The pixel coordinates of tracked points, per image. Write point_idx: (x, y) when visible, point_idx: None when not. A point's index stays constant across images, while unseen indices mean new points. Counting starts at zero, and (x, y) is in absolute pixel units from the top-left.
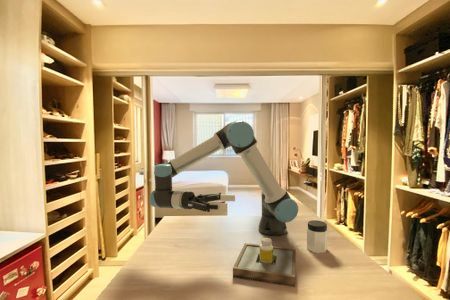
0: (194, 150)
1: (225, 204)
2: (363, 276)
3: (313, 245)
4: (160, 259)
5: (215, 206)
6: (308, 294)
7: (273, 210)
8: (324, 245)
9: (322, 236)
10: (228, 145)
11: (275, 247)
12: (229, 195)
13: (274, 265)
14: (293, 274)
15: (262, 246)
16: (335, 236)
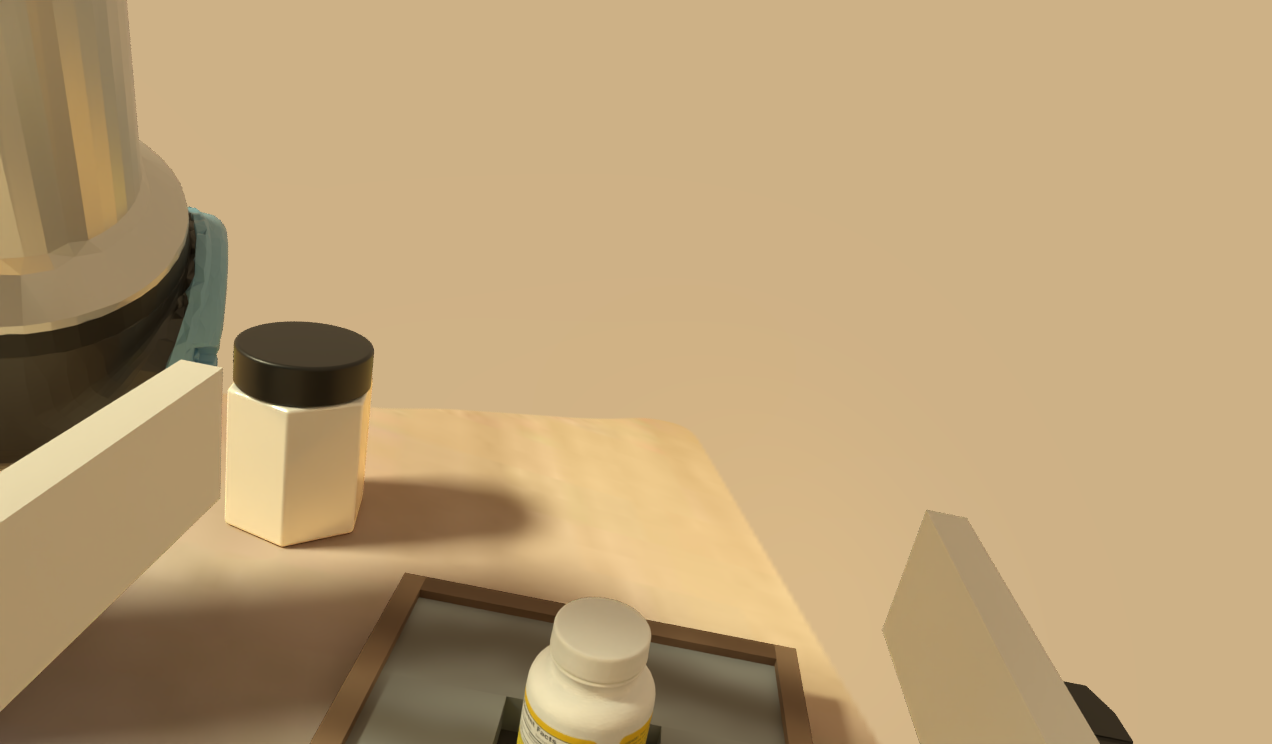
0: None
1: (969, 537)
2: (597, 467)
3: (347, 492)
4: None
5: (1111, 734)
6: (821, 660)
7: (105, 391)
8: (365, 455)
9: (368, 408)
10: None
11: (369, 678)
12: (150, 428)
13: (672, 732)
14: (772, 650)
15: (634, 699)
16: None
